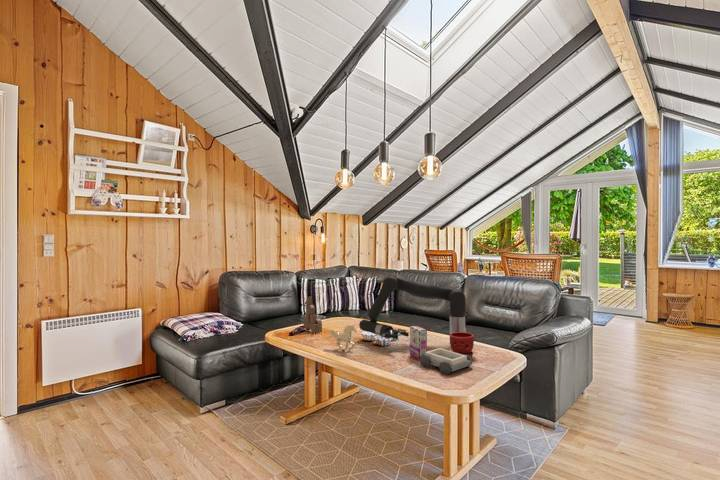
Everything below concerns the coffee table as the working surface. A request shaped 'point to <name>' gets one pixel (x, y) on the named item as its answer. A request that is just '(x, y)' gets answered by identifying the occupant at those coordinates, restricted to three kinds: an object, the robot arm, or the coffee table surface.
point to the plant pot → (462, 343)
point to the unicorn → (344, 336)
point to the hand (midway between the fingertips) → (402, 336)
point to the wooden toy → (311, 318)
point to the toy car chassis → (445, 360)
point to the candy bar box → (418, 342)
